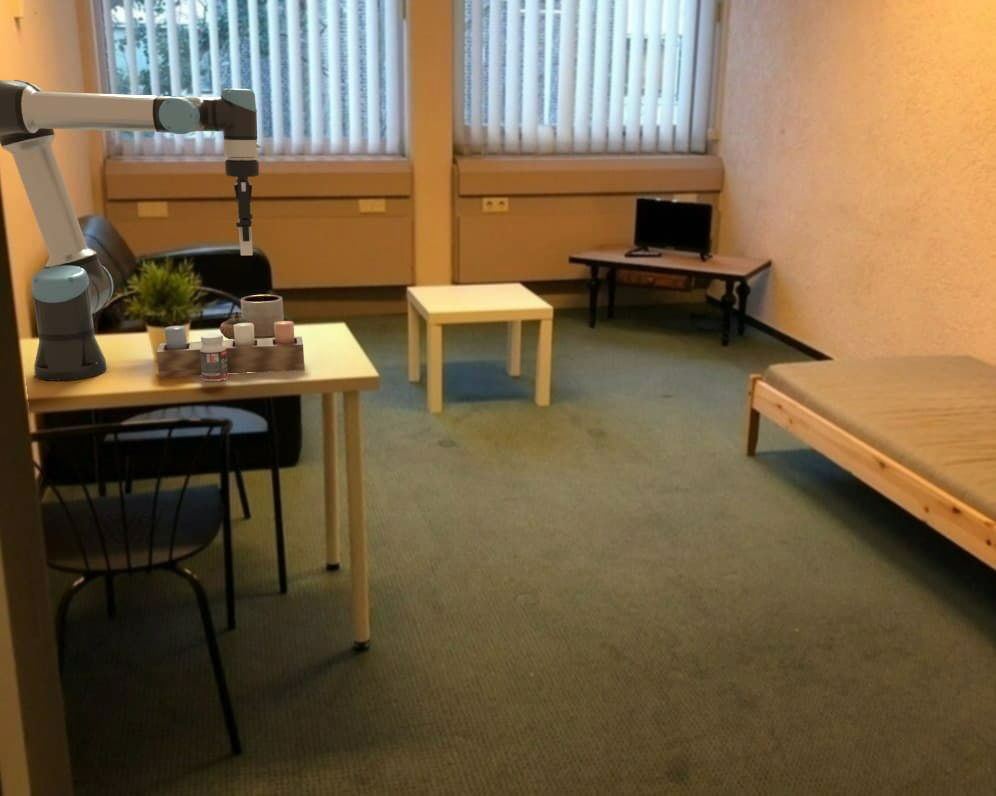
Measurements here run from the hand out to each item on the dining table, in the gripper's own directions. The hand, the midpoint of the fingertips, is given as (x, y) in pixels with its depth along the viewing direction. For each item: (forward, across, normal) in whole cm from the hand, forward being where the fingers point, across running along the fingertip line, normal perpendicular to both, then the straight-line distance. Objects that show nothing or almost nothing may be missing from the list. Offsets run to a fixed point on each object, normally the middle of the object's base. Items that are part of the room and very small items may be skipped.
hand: (246, 251), depth 238 cm
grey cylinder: (+21, -12, +16) cm, 29 cm away
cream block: (+21, -13, +1) cm, 24 cm away
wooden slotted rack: (+25, -13, +4) cm, 29 cm away
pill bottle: (+26, -20, +8) cm, 34 cm away
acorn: (+26, +5, +3) cm, 26 cm away
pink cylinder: (+20, -13, -8) cm, 25 cm away
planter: (+26, +22, -4) cm, 34 cm away
